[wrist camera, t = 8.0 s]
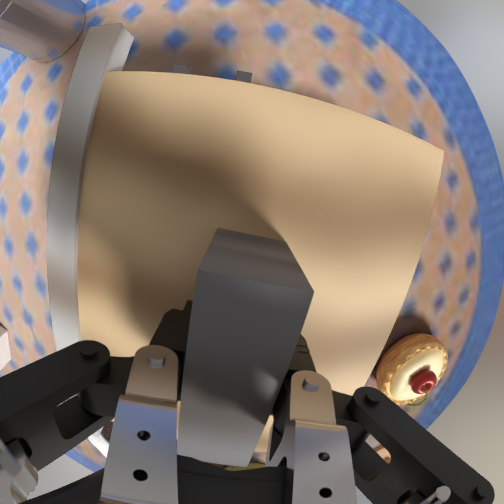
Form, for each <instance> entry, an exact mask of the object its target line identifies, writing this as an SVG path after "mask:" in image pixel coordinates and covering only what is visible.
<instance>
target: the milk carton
mask: <svg viewBox="0 0 504 504" xmlns="http://www.w3.org/2000/svg"><path fill="white" fill-rule="evenodd" d="M11 358H12V357H11V352H10V346H9V339H8V332H7V330H6V329H4V328H3V327H2V326H0V370H1V369H2V368H3V367H4V366H5V365H6V364H7V363H8V362H9V361H10V359H11Z"/></svg>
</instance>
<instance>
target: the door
mask: <svg viewBox="0 0 504 504" xmlns="http://www.w3.org/2000/svg"><path fill="white" fill-rule="evenodd" d="M133 39H134V37H133V36H132V35H131V34H130V33H129V31H128V30H127V29H126V28H125V27H124V26H123V25H122V24H121V23H118V24H108V25H99V26H92V27H89V30H88V32H87V34H86V37H85V39H84V42H83V44H82V47H81V50H80V52H79V55H78V58H77V61H76V64H75V67H74V70H73V73H72V76H71V79H70V82H69V86H68V89H67V93H66V97H65V100H64V104H63V108H62V112H61V117H60V121H59V126H58V131H57V136H56V141H55V147H54V153H53V160H52V167H51V175H50V184H49V195H48V209H47V276H48V290H49V301H50V310H51V318H52V325H53V332H54V338H55V344H56V350H57V351H59V350H61V349H63V348H65V347H68V346H70V345H72V344H74V343H76V342H79V341H82V340H94V341H98V342H100V343H102V344H104V345H105V346H106V347H107V348H108V349H109V351H110V356H117V357H132V356H135V353H136V351H137V350H138V349H140V348H141V347H144V346H147V345H149V343H150V341H151V339H152V337H153V335H154V333H155V331H156V329H157V327H158V326H159V324H160V322H161V320H162V318H163V316H164V314H165V313H166V312H168V311H169V310H171V309H173V308H174V309H178V310H183V309H184V307H185V304H186V302H187V300H191V301H193V303H192V310H191V317H190V324H189V332H188V339H187V347H186V356H185V364H184V373H183V383H182V393H181V401H178V403H177V454H178V455H182V456H187V457H192V458H195V459H197V460H200V461H203V462H209V463H216V464H223V465H232V466H241V467H247V466H248V464H249V462H250V459H251V457H252V455H253V453H254V451H259V452H267V448H268V440H269V432H270V427H271V425H272V423H273V421H274V420H273V416H272V415H270V414H271V411H272V409H273V406H274V404H275V401H276V399H277V396H278V394H279V391H280V389H281V386H282V383H283V381H284V378H285V376H286V373H287V370H288V368H289V365H290V362H291V359H292V357H293V354H294V351H295V348H296V346H297V343H298V340H299V337H300V334H301V335H302V336H303V337H304V338H305V339H306V342H307V345H308V348H309V351H310V354H311V357H312V360H313V363H314V366H315V369H316V372H317V373H319V374H321V375H323V376H324V377H325V378H326V379H327V380H328V381H329V382H330V384H331V389H332V390H334V391H337V392H340V393H344V394H348V395H351V396H352V395H353V393H354V392H355V390H356V389H358V388H360V387H364V385H365V383H366V381H367V379H368V377H369V376H370V374H371V372H372V370H373V368H374V366H375V364H376V362H377V360H378V358H379V356H380V354H381V352H382V350H383V348H384V346H385V344H386V341H387V339H388V337H389V335H390V333H391V330H392V328H393V326H394V324H395V321H396V319H397V317H398V314H399V312H400V309H401V307H402V304H403V302H404V299H405V297H406V294H407V291H408V289H409V286H410V283H411V281H412V278H413V275H414V272H415V269H416V266H417V263H418V260H419V257H420V254H421V251H422V247H423V244H424V241H425V237H426V234H427V230H428V226H429V223H430V219H431V215H432V211H433V207H434V203H435V198H436V194H437V189H438V184H439V179H440V174H441V169H442V163H443V157H444V151H443V150H441V149H439V148H437V147H435V146H433V145H431V144H429V143H427V142H425V141H423V140H421V139H419V138H417V137H415V136H413V135H410V134H408V133H406V132H404V131H402V130H399V129H397V128H395V127H392V126H390V125H388V124H385V123H383V122H380V121H378V120H375V119H373V118H370V117H368V116H365V115H362V114H360V113H357V112H354V111H351V110H348V109H345V108H343V107H340V106H336V105H333V104H330V103H327V102H324V101H321V100H317V99H314V98H310V97H307V96H303V95H299V94H296V93H292V92H288V91H284V90H280V89H275V88H271V87H266V86H261V85H257V84H252V83H246V82H241V81H235V80H229V79H222V78H215V77H208V76H200V75H190V74H180V73H166V72H145V71H123V67H124V64H125V61H126V58H127V56H128V53H129V50H130V47H131V44H132V42H133ZM76 395H77V394H76ZM76 395H74V396H76ZM74 396H72V397H74ZM72 397H71V398H72ZM71 398H69V399H71ZM69 399H68V400H69ZM114 418H115V417H114ZM112 422H114V419H113V420H112ZM103 427H104V426H103ZM103 427H102V428H101V429H99V430H98V431H96V432H95V433H94V434H92V435H94V436H96V437H99V435H100V433H101V431H102V429H103Z"/></svg>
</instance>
